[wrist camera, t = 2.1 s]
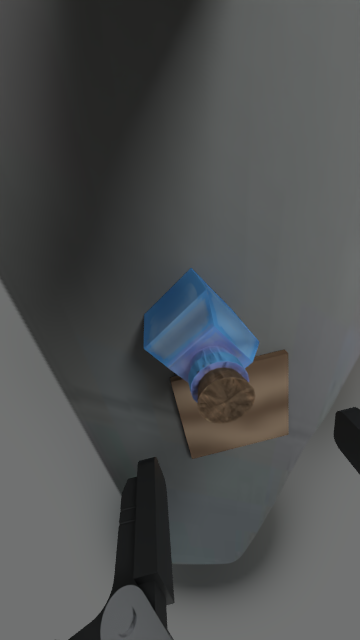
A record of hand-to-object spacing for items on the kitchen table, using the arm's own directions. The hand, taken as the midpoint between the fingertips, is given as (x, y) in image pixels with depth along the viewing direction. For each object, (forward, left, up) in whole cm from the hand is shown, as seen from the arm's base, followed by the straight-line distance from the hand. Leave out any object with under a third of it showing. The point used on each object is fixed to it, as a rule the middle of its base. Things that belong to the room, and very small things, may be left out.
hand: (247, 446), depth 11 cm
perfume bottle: (0, 0, -15) cm, 15 cm away
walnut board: (+13, +3, -15) cm, 20 cm away
